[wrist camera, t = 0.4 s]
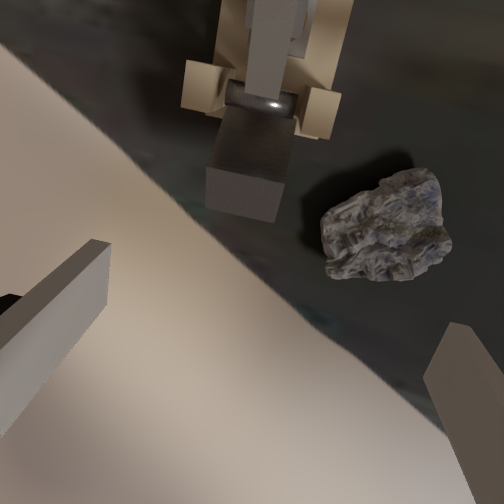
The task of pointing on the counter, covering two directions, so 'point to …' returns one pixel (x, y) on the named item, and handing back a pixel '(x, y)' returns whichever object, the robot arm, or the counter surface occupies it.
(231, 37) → the tan angle plate
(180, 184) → the counter surface
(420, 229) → the rock
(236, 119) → the lever
